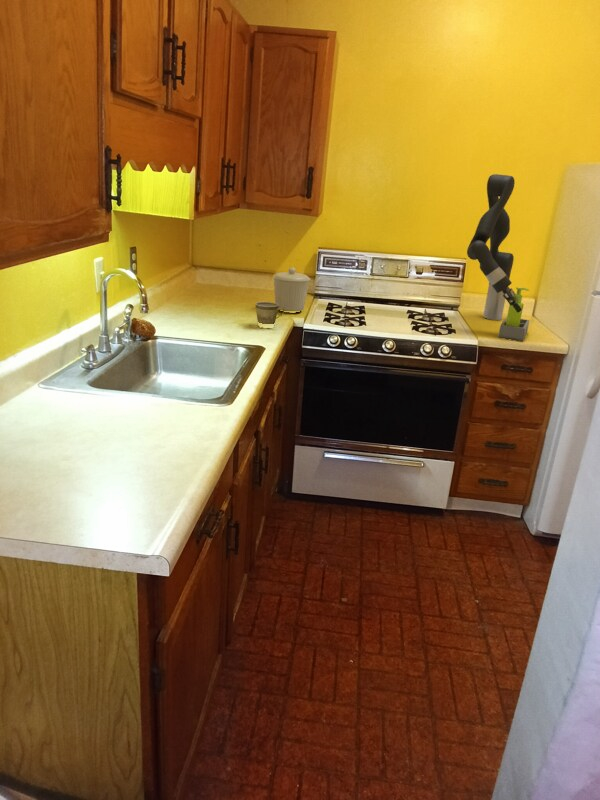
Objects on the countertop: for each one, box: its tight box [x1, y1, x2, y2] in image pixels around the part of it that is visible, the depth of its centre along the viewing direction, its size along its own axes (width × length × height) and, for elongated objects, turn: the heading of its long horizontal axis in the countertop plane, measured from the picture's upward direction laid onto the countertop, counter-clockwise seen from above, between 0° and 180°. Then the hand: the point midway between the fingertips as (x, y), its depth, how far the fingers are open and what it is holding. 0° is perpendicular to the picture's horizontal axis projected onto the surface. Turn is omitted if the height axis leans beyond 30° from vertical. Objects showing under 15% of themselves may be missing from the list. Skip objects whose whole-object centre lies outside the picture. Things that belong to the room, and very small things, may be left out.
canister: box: [272, 267, 312, 312], centre depth 296 cm, size 18×18×21 cm
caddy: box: [497, 316, 530, 343], centre depth 283 cm, size 21×10×6 cm, turn 155°
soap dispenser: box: [506, 286, 530, 327], centre depth 276 cm, size 6×7×20 cm
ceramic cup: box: [255, 301, 285, 324], centre depth 265 cm, size 13×10×10 cm
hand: (520, 310), depth 275 cm, fingers closed on soap dispenser, 6 cm apart
